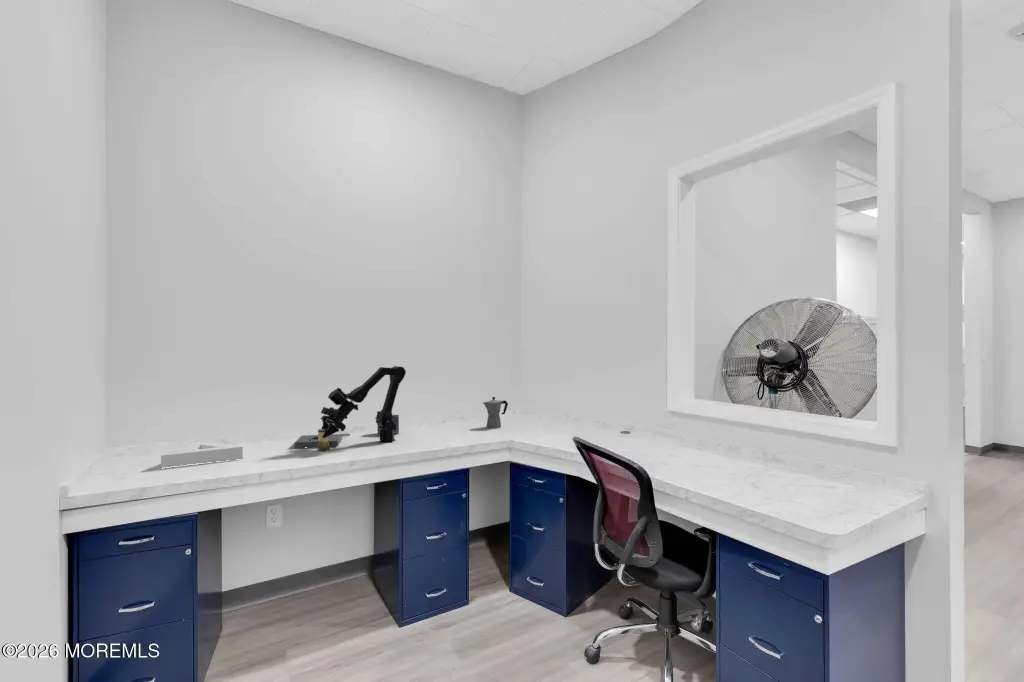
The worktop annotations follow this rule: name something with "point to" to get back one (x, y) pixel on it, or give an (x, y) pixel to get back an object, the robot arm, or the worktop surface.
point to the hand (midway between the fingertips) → (320, 436)
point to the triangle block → (201, 454)
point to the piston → (322, 440)
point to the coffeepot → (494, 412)
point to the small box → (396, 421)
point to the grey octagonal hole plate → (313, 441)
